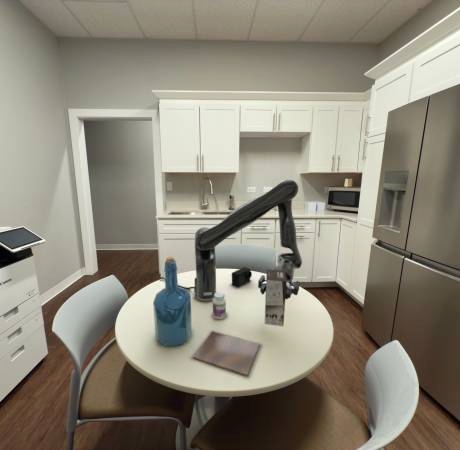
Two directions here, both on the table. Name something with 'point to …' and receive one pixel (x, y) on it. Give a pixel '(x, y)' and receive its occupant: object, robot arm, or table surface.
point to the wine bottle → (172, 309)
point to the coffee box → (275, 297)
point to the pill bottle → (219, 305)
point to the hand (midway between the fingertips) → (274, 294)
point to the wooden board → (228, 353)
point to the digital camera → (241, 277)
